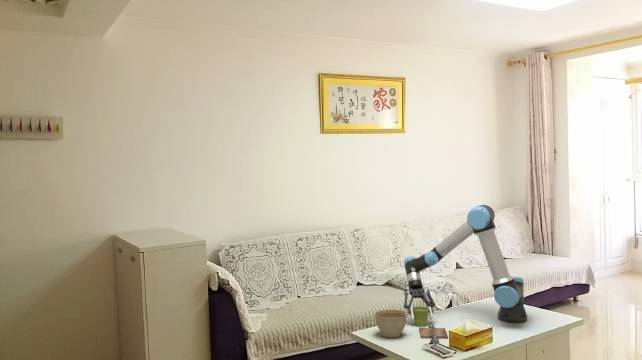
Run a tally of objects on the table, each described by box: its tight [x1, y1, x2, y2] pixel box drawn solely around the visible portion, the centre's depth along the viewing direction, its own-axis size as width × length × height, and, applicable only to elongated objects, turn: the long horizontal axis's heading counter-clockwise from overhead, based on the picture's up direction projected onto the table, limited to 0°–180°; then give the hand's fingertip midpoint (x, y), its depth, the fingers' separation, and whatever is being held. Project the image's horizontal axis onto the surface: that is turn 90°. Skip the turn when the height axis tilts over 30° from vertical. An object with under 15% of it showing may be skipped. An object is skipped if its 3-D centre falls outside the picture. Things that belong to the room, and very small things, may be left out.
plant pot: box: [411, 305, 430, 327], centre depth 287 cm, size 9×9×9 cm
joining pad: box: [418, 327, 449, 340], centre depth 270 cm, size 13×13×1 cm
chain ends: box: [428, 323, 440, 344], centre depth 269 cm, size 3×26×2 cm, turn 173°
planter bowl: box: [374, 309, 408, 338], centre depth 271 cm, size 16×16×11 cm
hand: (422, 318), depth 284 cm, fingers closed on plant pot, 9 cm apart
